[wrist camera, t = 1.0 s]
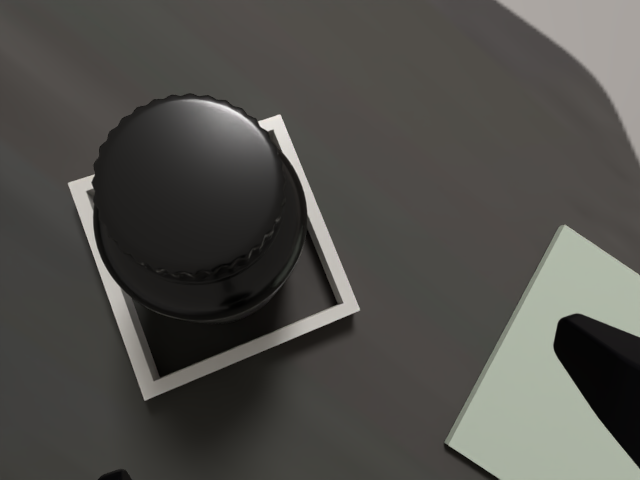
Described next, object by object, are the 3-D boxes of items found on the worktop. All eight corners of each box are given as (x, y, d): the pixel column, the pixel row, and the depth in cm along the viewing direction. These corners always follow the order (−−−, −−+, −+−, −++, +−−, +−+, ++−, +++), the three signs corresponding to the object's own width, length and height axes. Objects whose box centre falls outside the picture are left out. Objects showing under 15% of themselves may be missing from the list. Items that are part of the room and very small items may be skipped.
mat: (612, 553, 24) (619, 557, 23) (444, 442, 24) (448, 445, 23) (708, 327, 27) (716, 327, 26) (559, 226, 26) (564, 224, 26)
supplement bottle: (288, 323, 24) (326, 324, 12) (142, 324, 23) (26, 327, 11) (289, 186, 25) (323, 64, 13) (149, 182, 24) (51, 46, 12)
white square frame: (353, 311, 24) (360, 310, 23) (151, 395, 22) (144, 400, 21) (278, 126, 25) (280, 114, 24) (79, 191, 23) (67, 183, 22)
